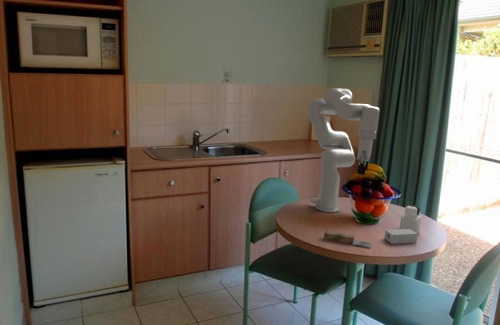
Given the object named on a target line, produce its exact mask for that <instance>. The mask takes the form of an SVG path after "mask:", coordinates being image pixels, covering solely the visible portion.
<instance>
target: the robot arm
mask: <svg viewBox="0 0 500 325" xmlns="http://www.w3.org/2000/svg"><path fill="white" fill-rule="evenodd" d="M322 97H323V98H314V99H312V100H310V101H309V102H308V104H307V106H306V107H307V117H308V120H309V121H310V123H311V125H312V127H313V129H314V132H315V135H316V139H317V141H318V145H319V147H320V149H324V150H323V151H322V153H321V155H320V164H321V166H320V167H321V174H320V175H321V176H320V186H319V195H318V197H319V198H310V202H311V203H312V204H315V206H314V207H315V209H317V210H318V211H321V212H323V213H324V212H325V213H337V212H340V211H341V207H340V206H339V205H338V202H339V191H340V190H339V189H340V180H341V179H340V178H341V174H340V172H339V171H338V168H350V167H353V165H354V164H355V162H356V160H357V161H358V160H359V163H358V165H357V167H358V168H357V171H356V172H357V175H360V176H361V175H363V176H364V175H365V174H366V171H368V168H369V160H370V158H371V154H372V149H373V148H372V147H373V143H374V142H373V140H376V139H377V133H378V127H379V119H380V112H381V111H380V108H379V107H378V106H372V105H371V104H367V103H353V93H352V91H351V90H350V89H348V88H337V87H335V88H334V87H331V88H328V89H326V90H325V91H324V93H323V96H322ZM324 115H325V116H337V117H339V118H341V119H343V120H346V121H358V122H359V121H360V122H359V129H358V138H359V143H358V150H357V156H356V154H355V152H354V150H353V149H354V148H353V146H352V143H351V141H350V137H349V136H348V133H346V132H345V131H341V130H334V129H332V127H331V123H330V122H329V121H328V119H327V118H326V117H324Z"/></svg>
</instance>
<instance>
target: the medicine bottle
mask: <svg viewBox="0 0 500 325" xmlns="http://www.w3.org/2000/svg"><path fill="white" fill-rule="evenodd" d="M420 210H421V209H420V207H419V206H418V205H414V204H408V205H406V206H405V209H404V214H403V215H402V216H400V225H399V229H411V230H412V231H414V232H415V233H417V234H418V233H419V232H420V229H421V223H422V216H420Z"/></svg>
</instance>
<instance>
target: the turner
mask: <svg viewBox="0 0 500 325" xmlns="http://www.w3.org/2000/svg"><path fill="white" fill-rule="evenodd" d="M323 240H325V241H331V242H336V243H343V244H348V245H352V247H353V246H354V247H359V248H364V249H370V250H371V245H372V242H370V241H369V242H368V241H363V240H359V239H358V240H356V239H355V235H351V234H345V233H339V232H334V231H328V230H325V231H324V234H323Z"/></svg>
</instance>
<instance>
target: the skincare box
mask: <svg viewBox="0 0 500 325" xmlns="http://www.w3.org/2000/svg"><path fill="white" fill-rule="evenodd" d="M384 239H385V241H388V242H389V243H390V244H391V245H392V244H393V245H394V244H415V243H417V241H418V233H415V232H414V231H412V230H411V229H400V228H399V229H398V228H397V229H385V231H384Z"/></svg>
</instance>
